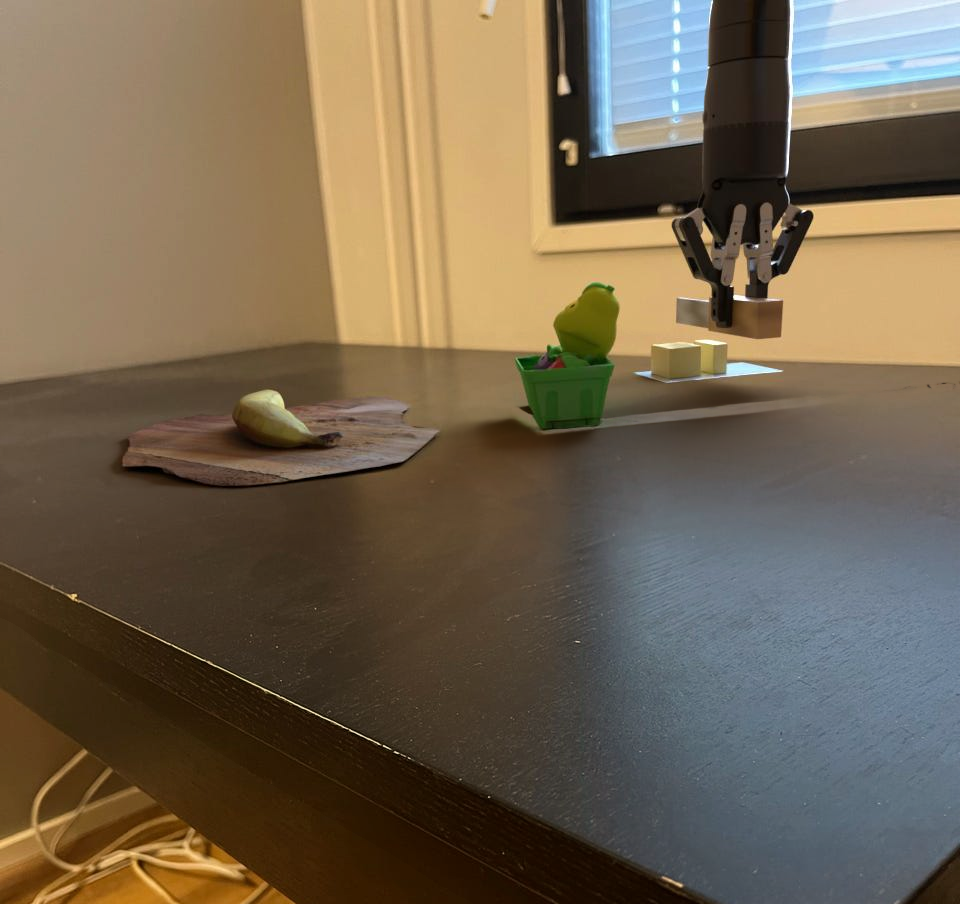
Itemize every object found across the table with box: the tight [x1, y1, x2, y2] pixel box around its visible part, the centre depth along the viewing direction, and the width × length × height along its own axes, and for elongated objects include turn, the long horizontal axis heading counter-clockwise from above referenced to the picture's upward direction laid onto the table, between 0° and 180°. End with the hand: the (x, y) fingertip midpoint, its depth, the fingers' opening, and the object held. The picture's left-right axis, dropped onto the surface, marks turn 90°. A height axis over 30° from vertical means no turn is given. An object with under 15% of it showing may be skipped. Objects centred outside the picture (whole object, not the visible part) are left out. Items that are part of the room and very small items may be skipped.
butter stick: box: [650, 341, 701, 379], centre depth 103 cm, size 4×5×3 cm
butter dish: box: [633, 361, 783, 384], centre depth 104 cm, size 13×9×1 cm
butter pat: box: [693, 339, 729, 374], centre depth 104 cm, size 2×5×3 cm, turn 13°
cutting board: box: [122, 389, 442, 487], centre depth 86 cm, size 35×27×4 cm
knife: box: [675, 294, 784, 340], centre depth 97 cm, size 20×2×3 cm, turn 13°
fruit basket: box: [514, 281, 621, 430], centre depth 85 cm, size 11×9×11 cm
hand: (738, 325), depth 94 cm, fingers closed on knife, 2 cm apart
